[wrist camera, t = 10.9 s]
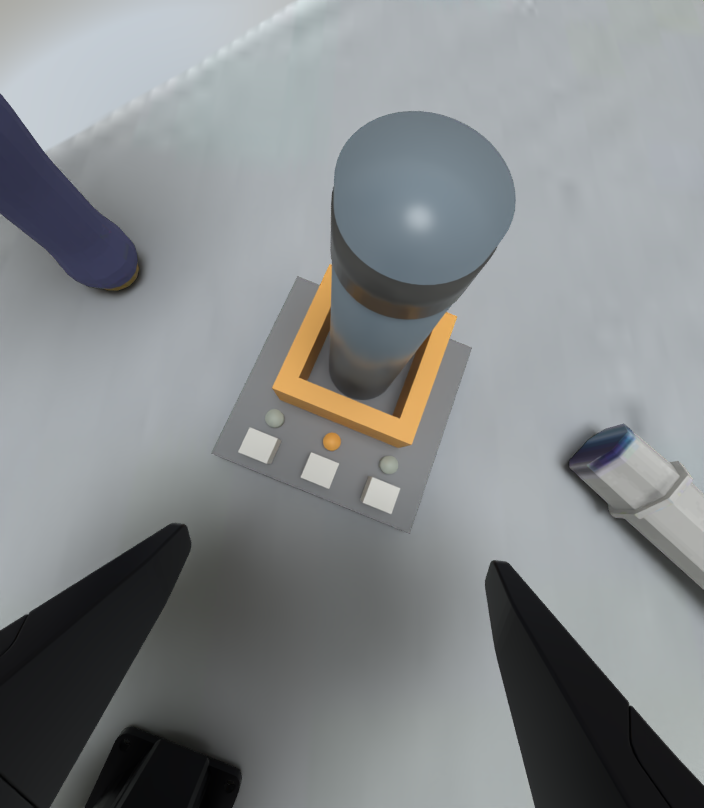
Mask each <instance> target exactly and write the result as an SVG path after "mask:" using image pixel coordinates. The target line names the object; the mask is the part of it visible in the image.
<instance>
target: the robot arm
mask: <svg viewBox="0 0 704 808" xmlns="http://www.w3.org/2000/svg"><path fill="white" fill-rule="evenodd" d="M190 550H191V539H190V535H189V532H188V528H187V526H186V525H185V524H180V523H171V524H169V525H168V526H166V527H164V528H163V529H161V530H160V531H158V532H156V533H155V534H153V535H152V536H150V537H149V538H147V539H145V540H144V541H142V542H141V543H139V544H137V545H136V546H134V547H133V548H131V549H129V550H128V551H126V552H125V553H123V554H121V555H120V556H118V557H117V558H115V559H113V560H112V561H110V562H109V563H107V564H106V565H104V566H102V567H101V568H99V569H98V570H96V571H94V572H93V573H91V574H90V575H88V576H86V577H85V578H83V579H82V580H80V581H78V582H77V583H75V584H74V585H72V586H70V587H69V588H67V589H66V590H64V591H63V592H61V593H59V594H58V595H56V596H55V597H53V598H51V599H50V600H48V601H47V602H45V603H43V604H42V605H40V606H39V607H37V608H35V609H34V610H32V611H31V612H30V613H29V614H26V615H24V616H23V617H21V618H19V619H18V620H16V621H15V622H13V623H11V624H10V625H8V626H7V627H5V628H3V629H2V630H0V808H50V806H51V804H52V802H53V801H54V799H55V797H56V795H57V794H58V792H59V790H60V788H61V787H62V785H63V783H64V781H65V780H66V778H67V776H68V774H69V773H70V771H71V769H72V767H73V766H74V764H75V762H76V760H77V759H78V757H79V755H80V753H81V752H82V750H83V748H84V746H85V745H86V743H87V741H88V739H89V738H90V736H91V734H92V732H93V731H94V729H95V727H96V725H97V724H98V722H99V720H100V718H101V717H102V715H103V713H104V711H105V710H106V708H107V706H108V704H109V703H110V701H111V699H112V697H113V696H114V694H115V692H116V690H117V689H118V687H119V685H120V683H121V682H122V680H123V678H124V676H125V675H126V673H127V671H128V669H129V668H130V666H131V664H132V662H133V661H134V659H135V657H136V655H137V654H138V652H139V650H140V648H141V647H142V645H143V643H144V641H145V640H146V638H147V636H148V634H149V633H150V631H151V629H152V627H153V626H154V624H155V622H156V620H157V619H158V617H159V615H160V613H161V612H162V610H163V608H164V606H165V604H166V602H167V600H168V598H169V596H170V594H171V592H172V590H173V588H174V585H175V583H176V581H177V579H178V577H179V574H180V572H181V570H182V568H183V566H184V563H185V561H186V559H187V557H188V555H189V553H190ZM485 590H486V596H487V603H488V609H489V616H490V622H491V629H492V635H493V641H494V647H495V652H496V656H497V661H498V664H499V668H500V672H501V676H502V680H503V684H504V688H505V692H506V696H507V700H508V704H509V707H510V711H511V715H512V719H513V723H514V727H515V731H516V735H517V739H518V743H519V746H520V750H521V754H522V758H523V762H524V766H525V770H526V774H527V778H528V782H529V786H530V789H531V793H532V797H533V801H534V805H535V808H704V785H703V784H702V783H701V782H700V781H699V780H698V779H697V778H696V777H695V776H694V775H693V774H692V772H691V771H690V770H689V769H688V768H687V767H686V766H685V765H684V764H683V763H682V762H681V761H680V760H679V759H678V758H677V756H676V755H675V754H674V753H673V752H672V751H671V750H670V749H669V747H668V746H667V745H666V744H665V743H664V742H663V741H662V740H661V738H660V737H659V736H658V735H657V734H656V733H655V732H654V731H653V729H652V728H651V727H650V726H649V725H648V724H647V723H646V721H645V720H644V719H643V718H642V717H641V716H640V714H639V713H638V712H637V711H636V710H635V709H634V707H632V706H629V702H628V701H627V700H626V698H625V697H624V696H623V695H622V694H621V693H620V691H619V690H618V689H617V688H616V687H615V686H614V684H613V683H612V682H611V681H610V680H609V679H608V678H607V676H606V675H605V674H604V673H603V672H602V671H601V669H600V668H599V667H598V666H597V665H596V664H595V662H594V661H593V660H592V659H591V658H590V657H589V655H588V654H587V653H586V652H585V651H584V650H583V649H582V647H581V646H580V645H579V644H578V643H577V642H576V640H575V639H574V638H573V637H572V636H571V635H570V633H569V632H568V631H567V630H566V629H565V628H564V627H563V625H562V624H561V623H560V622H559V621H558V620H557V618H556V617H555V616H554V615H553V614H552V613H551V611H550V610H549V609H548V608H547V607H546V606H545V604H544V603H543V602H542V601H541V600H540V599H539V598H538V596H537V595H536V594H535V593H534V592H533V591H532V589H531V588H530V587H529V586H528V585H527V584H526V582H525V581H524V580H523V579H522V578H521V577H520V576H519V574H518V573H517V572H516V571H515V570H514V569H513V567H512V566H511V565H510V564H509V563H507V562H505V561H497V560H493V561H491V563H490V566H489V569H488V572H487V576H486V579H485ZM124 739H128V740H129V741H130V745H129V744H126V743H125V741H124ZM241 780H242V774H241V772H240V770H239V769H237V768H236V767H233V766H231V765H228V764H226V763H223V762H221V761H218V760H215V759H213V758H210V757H208V756H206V755H203V754H201V753H198V752H196V751H193V750H191V749H188V748H186V747H183V746H180V745H178V744H175V743H173V742H170V741H168V740H165V739H163V738H160V737H158V736H155V735H152V734H150V733H147V732H145V731H142V730H140V729H137V728H135V727H128V728H126V729H125V730H123V731H122V733H121V734H120V735H119V737H118V738H117V740H116V741H115V743H114V745H113V747H112V750H111V752H110V754H109V756H108V758H107V760H106V762H105V765H104V767H103V769H102V771H101V773H100V775H99V778H98V780H97V782H96V784H95V786H94V788H93V791H92V793H91V795H90V797H89V799H88V801H87V804H86V806H85V808H233V805H234V802H235V800H236V797H237V794H238V792H239V789H240V785H241ZM227 781H233V782H234V784H233V785H229V784H228V783H227Z"/></svg>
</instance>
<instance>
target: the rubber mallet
mask: <svg viewBox="0 0 704 808" xmlns="http://www.w3.org/2000/svg"><path fill="white" fill-rule="evenodd" d="M0 214H2V215H3V216H4V217H5V218H7V219H8V220H9V221H10V222H12V223H13V224H14V225H16V226H17V227H18V228H19V229H21V230H22V231H23V232H24V233H26V234H27V235H28V236H30V237H31V238H32V239H33V240H35V241H36V242H37V243H38V244H40V245H41V246H42V247H44V248H45V249H46V250H47V251H48V252H49V253H50V254H51V255H52V256H53V257H54V258H55V260H56V261H57V262H58V263H59V265H60V266H61V267H62V268H63V269H64V270H65V272H66V273H67V274H68V275H69V276H70V277H72V278H73V279H74V280H76V281H77V282H80V283H82V284H84V285H86V286H88V287H95V288H103V289H105V290H117V291H118V290H121V289H123V288H126V287H128V286H130V285H131V284H132V283H133V281H134V280H135V279H136V278H137V275H138V271H139V266H138V263H137V262H138V260H137V253H136V249H135V246H134V244H133V242H132V241H131V240H130V239H129V238H128V237H127V236H126V235H125V233H124V232H123V231H122V230H121V229H120V228H119V227H118V226H117V225H116V224H114V223H113V222H111V221H110V220H108V219H107V218H106V217H104V216H103V215H102V214H100V213H99V212H98V211H97V210H96V209H95V208H94V207H93V206H92V205H91V204H90V203H89V202H88V201H87V200H86V199H85V198H84V196H83V195H82V194H81V193H80V192H79V191H78V190H77V189H76V188H75V187H74V185H73V184H72V183H71V182H70V181H69V180H68V179H67V178H66V177H65V175H64V174H63V173H62V172H61V171H60V170H59V169H58V168H57V167H56V166H55V164H54V163H53V162H52V161H51V160H50V159H49V157H48V156H47V155H46V154H45V152H44V151H43V150H42V149H41V147H40V146H39V144H38V143H37V142H36V140H35V139H34V138H33V136H32V135H31V133H30V132H29V131H28V129H27V128H26V127H25V125H24V124H23V123H22V121H21V120H20V118H19V117H18V116H17V114H16V113H15V111H14V110H13V109H12V107H11V106H10V105H9V104H8V102H7V101H6V100H5V99H4V97H3V96H2V95H1V94H0Z"/></svg>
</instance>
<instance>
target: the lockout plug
mask: <svg viewBox="0 0 704 808" xmlns="http://www.w3.org/2000/svg"><path fill="white" fill-rule="evenodd" d="M515 201H516V199H515V188H514V183H513V179H512V176H511V174H510V171H509V169H508V167H507V165H506V163H505V161H504V159H503V158H502V157H501V155H500V154H499V152H498V151H497V150H496V149H495V147H494V146H493V145H492V144H491V143H490V142H489V141H488V140H487V139H486V138H485V137H483V136H482V135H481V134H480V133H478V132H477V131H476V130H474V129H472V128H471V127H469V126H467V125H466V124H464V123H462V122H460V121H457V120H455V119H453V118H450V117H447V116H444V115H440V114H436V113H430V112H422V111H407V112H398V113H393V114H388V115H385V116H382V117H379V118H377V119H375V120H373V121H371V122H369V123H367V124H366V125H364V126H363V127H361V128H360V129H359V130H358V131H356V132H355V133H354V134H353V135H352V136H351V137H350V139H349V140H348V141H347V142H346V144H345V145H344V147H343V149H342V150H341V152H340V155H339V157H338V160H337V164H336V168H335V176H334V187H333V192H332V202H331V259H332V281H331V319H330V357H329V372H330V376H331V379H332V381H333V383H334V385H335V386H336V388H337V389H338V390H339V391H340V392H341V393H343V394H344V395H346V396H348V397H350V398H353V399H357V400H368V399H373V398H376V397H378V396H379V395H381V394H382V393H384V392H385V391H386V390H387V389H388V387H389V386H390V385H391V383H392V382H393V381H394V380H395V378H396V377H397V376H398V374H399V373H400V372H401V370H402V369H403V368H404V367H405V365H406V364H407V363H408V361H409V360H410V359H411V357H412V356H413V355H414V353H415V352H416V351H417V350H418V348H419V347H420V346H421V344H422V343H423V342H424V340H425V339H426V338H427V337H428V335H429V334H430V333H431V331H432V330H433V329H434V327H435V326H436V325H437V323H438V322H439V321H440V320H441V318H442V317H443V316H444V314H445V313H446V312H447V310H448V309H449V308H450V307H451V305H452V304H453V303H454V302H456V301H457V300H458V298H459V297H460V296H461V295H462V294H463V293H464V291H465V290H466V289H467V287H468V286H469V285H470V284H471V282H472V281H473V280H474V278H475V277H476V276H477V275H478V273H479V272H480V271H481V269H482V268H483V267H484V266H485V264H486V263H487V262H488V260H489V259H490V258H491V256H492V255H493V253H494V252H495V250H496V248H497V246H498V244H499V243H500V241H501V240H502V239H503V237H504V236H505V234H506V232H507V231H508V229H509V227H510V224H511V222H512V219H513V215H514V211H515Z"/></svg>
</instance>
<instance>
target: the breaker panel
mask: <svg viewBox="0 0 704 808" xmlns="http://www.w3.org/2000/svg"><path fill="white" fill-rule="evenodd" d="M331 281H332V265H331V264H330V265H329V267H328V269H327V271H326V273H325V275H324V277H323V280H322V282H321V284H320V285H318V284H315V283H313V282H311V281H308V280H306V279H303V278H301V277H298V276H297V279H296V281H295V283H294V285H293V287H292V289H291V291H290V293H289V295H288V297H287V299H286V301H285V303H284V305H283V307H282V309H281V311H280V313H279V315H278V318H277V320H276V322H275V324H274V326H273V328H272V330H271V332H270V334H269V336H268V338H267V340H266V342H265V344H264V346H263V348H262V350H261V352H260V354H259V356H258V359H257V361H256V363H255V365H254V367H253V369H252V371H251V373H250V375H249V377H248V379H247V381H246V383H245V385H244V387H243V389H242V391H241V393H240V395H239V398H238V400H237V402H236V404H235V406H234V408H233V410H232V412H231V414H230V416H229V418H228V420H227V422H226V424H225V426H224V428H223V430H222V432H221V434H220V437H219V439H218V441H217V443H216V445H215V447H214V449H213V451H212V453H211V454H214V455H216V456H219V457H221V458H224V459H226V460H229V461H231V462H234V463H236V464H239V465H241V466H244V467H246V468H248V469H251V470H253V471H256V472H258V473H261V474H263V475H266V476H268V477H271V478H273V479H276V480H278V481H281V482H283V483H285V484H288V485H290V486H293V487H295V488H298V489H300V490H303V491H305V492H308V493H310V494H313V495H315V496H318V497H320V498H323V499H325V500H327V501H330V502H332V503H335V504H337V505H340V506H342V507H345V508H347V509H350V510H352V511H355V512H357V513H360V514H362V515H364V516H367V517H369V518H372V519H374V520H377V521H379V522H382V523H384V524H387V525H389V526H392V527H394V528H397V529H399V530H402V531H404V532H406V533H409V534H410V531H411V528H412V525H413V522H414V519H415V516H416V513H417V510H418V507H419V504H420V501H421V498H422V495H423V492H424V489H425V486H426V483H427V480H428V477H429V474H430V471H431V468H432V465H433V463H434V460H435V457H436V454H437V451H438V448H439V445H440V442H441V439H442V436H443V433H444V430H445V427H446V424H447V421H448V418H449V415H450V412H451V409H452V406H453V403H454V400H455V397H456V394H457V391H458V388H459V385H460V382H461V379H462V376H463V373H464V370H465V367H466V364H467V361H468V358H469V355H470V352H471V349H472V348H471V347H469V346H466V345H464V344H462V343H459V342H457V341H454V340H452V339H449V338H450V336H451V333H452V330H453V327H454V324H455V321H456V319H457V316H455V315H452V314H450V313H447V312H446V313H445V314H444V316H443V317H442V318H441V320H440V321H439V322H438V323H437V325H436V326H435V327H434V329H433V330H432V331H431V333H430V334H429V335H428V337H427V338H426V339H425V340H424V342H423V343H422V344H421V346H420V347H419V348H418V350H417V351H416V352H415V353H414V355H413V356H412V357H411V359H410V360H409V361H408V363H407V364H406V365H405V367H404V368H403V369H402V370H401V372H400V373H399V374H398V376H397V377H396V378H395V380H394V381H393V382H392V383H391V385H390V386H389V387H388V389H387V390H386V391H385V392H384V393H382V394H381V395H379V396H378V397H376V398H373V399H368V400H357V399H353V398H350V397H348V396H346V395H344V394H343V393H341V392H340V391H339V390H338V389H337V388H336V386H335V385H334V383H333V381H332V379H331V376H330V372H329V357H330V319H331Z"/></svg>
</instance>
